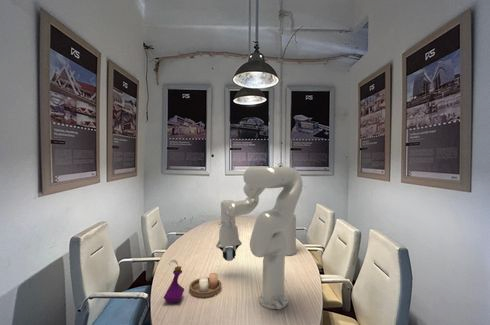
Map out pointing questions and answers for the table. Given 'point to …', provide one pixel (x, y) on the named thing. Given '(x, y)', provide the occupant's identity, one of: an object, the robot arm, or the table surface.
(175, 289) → the perfume bottle
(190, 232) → the table surface
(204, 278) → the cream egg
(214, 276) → the bead terracotta
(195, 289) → the groove tray
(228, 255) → the bead slate
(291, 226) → the cylinder vase
